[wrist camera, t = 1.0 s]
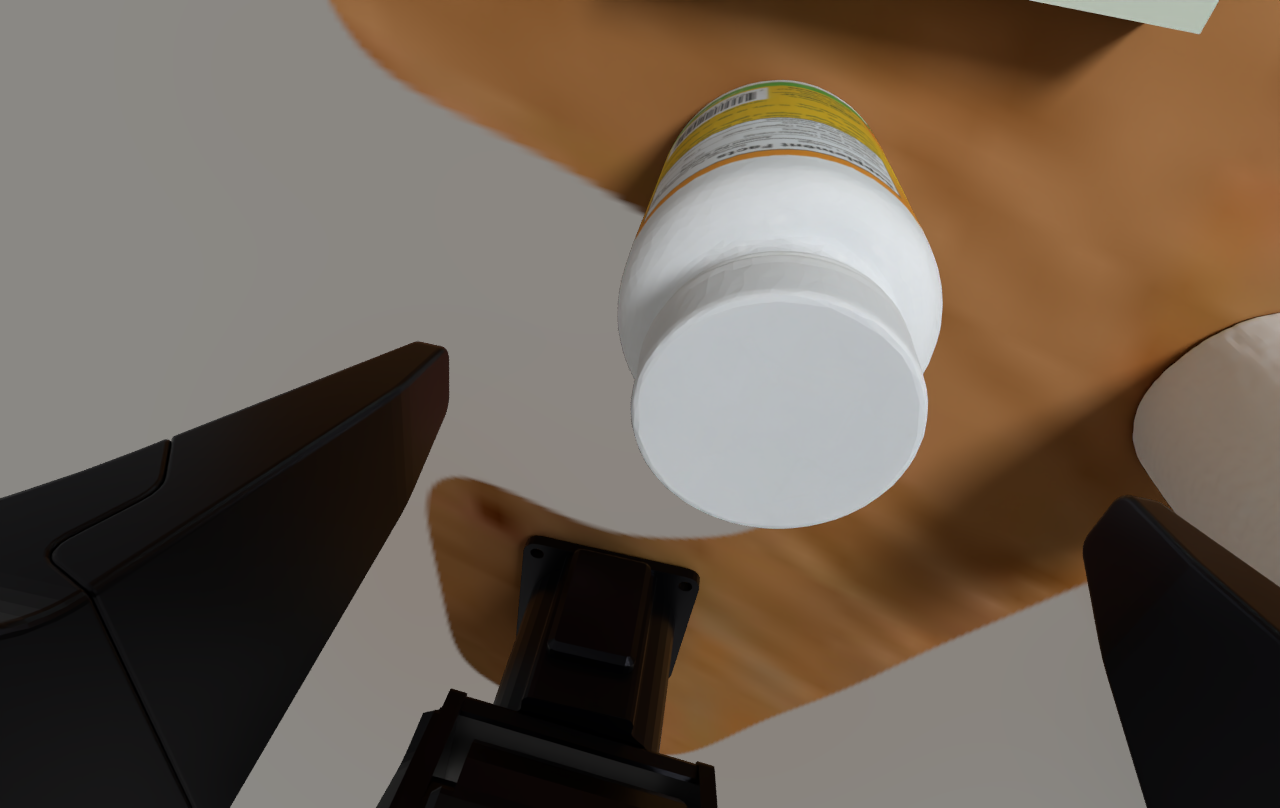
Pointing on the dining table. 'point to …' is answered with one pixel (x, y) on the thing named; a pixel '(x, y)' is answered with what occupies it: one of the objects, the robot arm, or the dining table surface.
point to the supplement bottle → (779, 312)
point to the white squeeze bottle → (1221, 440)
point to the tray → (1149, 11)
